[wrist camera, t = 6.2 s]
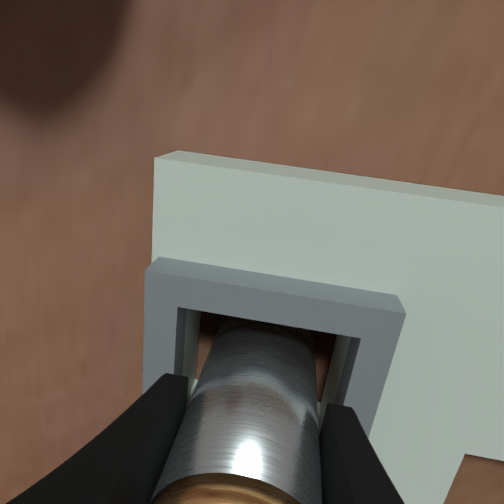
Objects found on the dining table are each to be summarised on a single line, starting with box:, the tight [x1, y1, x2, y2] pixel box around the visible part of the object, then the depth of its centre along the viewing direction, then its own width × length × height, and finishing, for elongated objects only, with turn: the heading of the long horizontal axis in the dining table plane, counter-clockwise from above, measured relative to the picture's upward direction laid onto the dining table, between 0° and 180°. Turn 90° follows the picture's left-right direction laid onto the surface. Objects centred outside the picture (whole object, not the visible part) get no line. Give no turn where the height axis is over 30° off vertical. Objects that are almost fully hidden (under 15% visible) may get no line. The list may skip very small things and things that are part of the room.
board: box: [142, 150, 504, 504], centre depth 12 cm, size 18×16×3 cm
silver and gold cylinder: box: [150, 316, 322, 504], centre depth 10 cm, size 4×4×7 cm
